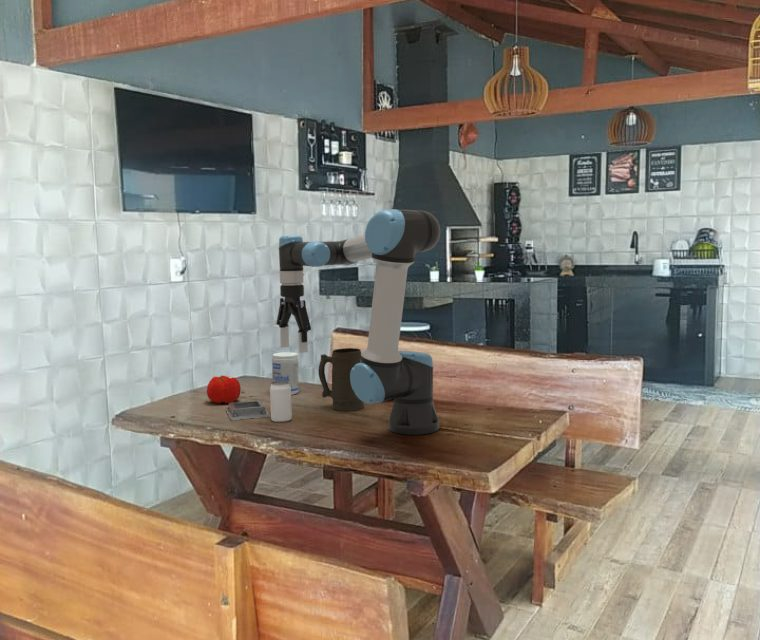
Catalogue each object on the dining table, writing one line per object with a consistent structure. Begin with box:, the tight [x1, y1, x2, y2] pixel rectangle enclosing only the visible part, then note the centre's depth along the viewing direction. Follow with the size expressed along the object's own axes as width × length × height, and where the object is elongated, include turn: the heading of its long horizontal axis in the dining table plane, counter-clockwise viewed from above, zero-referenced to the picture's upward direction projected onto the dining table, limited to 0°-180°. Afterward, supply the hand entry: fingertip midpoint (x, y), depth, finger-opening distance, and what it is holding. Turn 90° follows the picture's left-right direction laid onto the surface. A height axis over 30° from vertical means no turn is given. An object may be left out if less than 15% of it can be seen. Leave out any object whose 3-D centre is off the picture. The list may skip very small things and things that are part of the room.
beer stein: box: [317, 347, 365, 412], centre depth 242 cm, size 15×11×20 cm
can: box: [269, 381, 293, 423], centre depth 227 cm, size 6×6×12 cm
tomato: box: [206, 375, 242, 404], centre depth 253 cm, size 11×12×9 cm
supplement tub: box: [271, 351, 300, 396], centre depth 266 cm, size 10×10×15 cm
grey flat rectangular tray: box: [225, 399, 270, 421], centre depth 236 cm, size 14×12×3 cm
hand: (293, 349), depth 234 cm, fingers open, 13 cm apart
